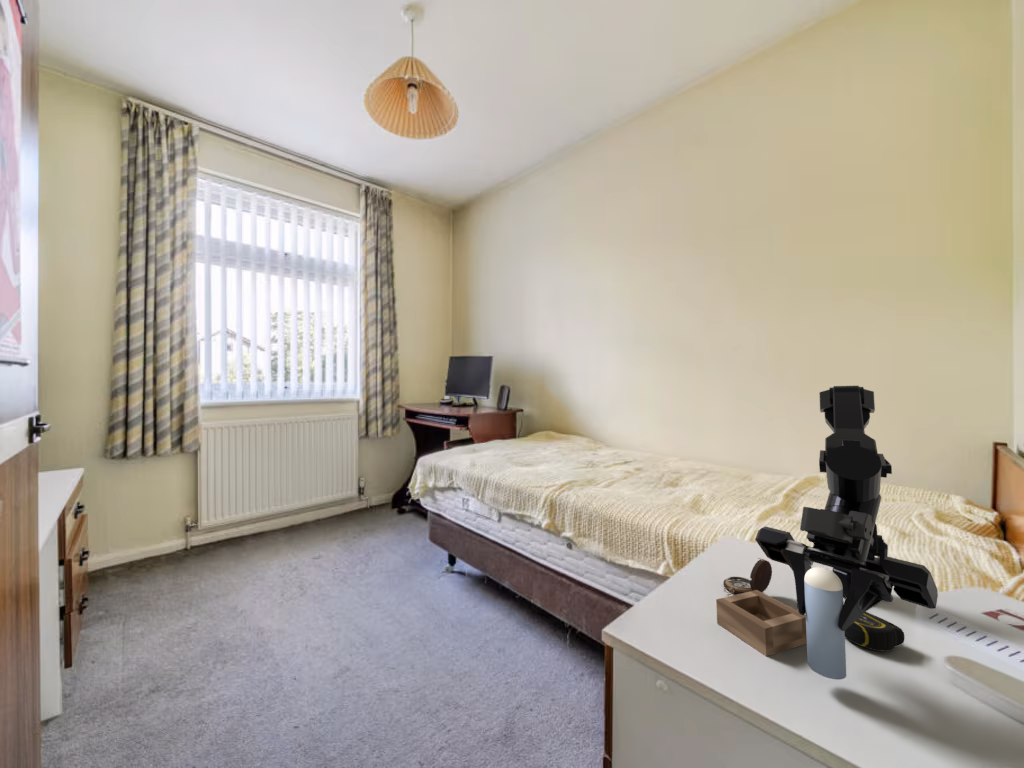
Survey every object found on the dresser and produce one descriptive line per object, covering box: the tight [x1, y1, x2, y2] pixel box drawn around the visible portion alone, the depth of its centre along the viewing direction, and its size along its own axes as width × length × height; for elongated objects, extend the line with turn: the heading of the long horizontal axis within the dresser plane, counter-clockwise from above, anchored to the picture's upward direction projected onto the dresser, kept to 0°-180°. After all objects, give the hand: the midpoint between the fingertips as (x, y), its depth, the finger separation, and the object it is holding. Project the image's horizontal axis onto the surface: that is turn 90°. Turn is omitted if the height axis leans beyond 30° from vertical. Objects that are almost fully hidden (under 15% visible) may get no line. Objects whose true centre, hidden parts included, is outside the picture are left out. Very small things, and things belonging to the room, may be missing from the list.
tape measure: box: [845, 611, 905, 652], centre depth 62 cm, size 7×7×4 cm
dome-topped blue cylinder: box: [804, 566, 847, 680], centre depth 53 cm, size 4×4×13 cm
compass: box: [723, 557, 773, 595], centre depth 78 cm, size 8×8×7 cm
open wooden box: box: [716, 590, 807, 657], centre depth 65 cm, size 9×9×4 cm
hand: (820, 620), depth 52 cm, fingers closed on dome-topped blue cylinder, 4 cm apart
